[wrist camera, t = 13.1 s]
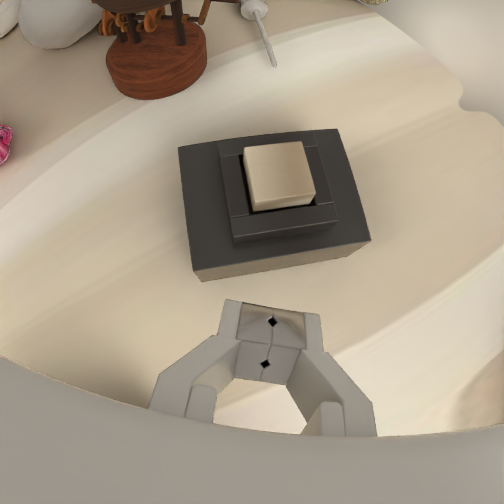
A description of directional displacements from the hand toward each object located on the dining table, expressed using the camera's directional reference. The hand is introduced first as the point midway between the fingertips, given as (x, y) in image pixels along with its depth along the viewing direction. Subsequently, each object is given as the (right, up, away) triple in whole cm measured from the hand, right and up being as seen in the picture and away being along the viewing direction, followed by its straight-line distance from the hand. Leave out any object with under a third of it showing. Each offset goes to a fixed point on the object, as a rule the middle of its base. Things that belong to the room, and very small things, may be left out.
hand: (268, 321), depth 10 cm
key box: (+1, +5, +16) cm, 17 cm away
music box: (-10, +22, +20) cm, 31 cm away
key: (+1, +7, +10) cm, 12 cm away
